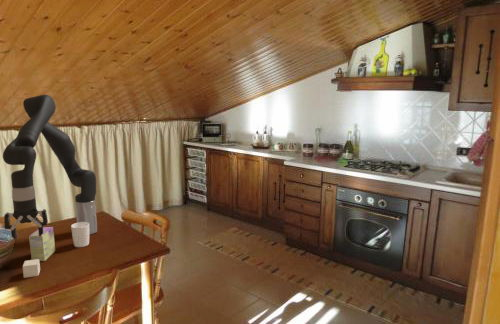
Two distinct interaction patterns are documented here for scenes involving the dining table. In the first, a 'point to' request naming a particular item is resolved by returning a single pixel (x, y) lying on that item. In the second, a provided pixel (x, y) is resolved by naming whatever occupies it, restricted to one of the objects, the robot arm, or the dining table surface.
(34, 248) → the box
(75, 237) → the white cup
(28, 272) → the cube
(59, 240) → the dining table surface
